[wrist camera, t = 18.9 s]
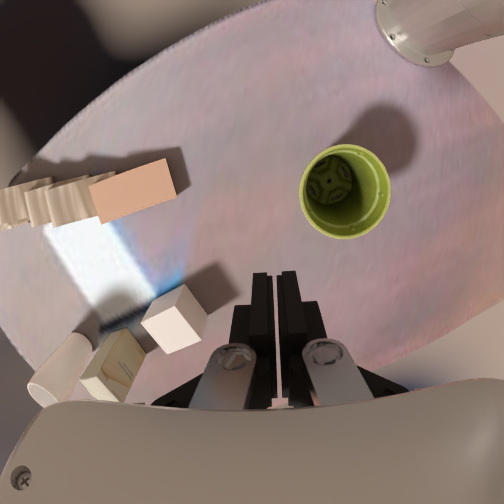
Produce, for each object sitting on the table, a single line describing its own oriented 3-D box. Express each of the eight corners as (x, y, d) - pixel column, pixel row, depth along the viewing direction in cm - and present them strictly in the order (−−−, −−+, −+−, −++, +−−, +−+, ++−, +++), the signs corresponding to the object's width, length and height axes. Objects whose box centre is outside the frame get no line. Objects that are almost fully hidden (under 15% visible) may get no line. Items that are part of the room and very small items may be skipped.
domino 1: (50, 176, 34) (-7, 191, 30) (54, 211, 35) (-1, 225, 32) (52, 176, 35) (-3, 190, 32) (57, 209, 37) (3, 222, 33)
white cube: (153, 299, 43) (140, 322, 37) (184, 283, 41) (174, 305, 36) (176, 329, 44) (167, 354, 39) (208, 315, 43) (201, 340, 38)
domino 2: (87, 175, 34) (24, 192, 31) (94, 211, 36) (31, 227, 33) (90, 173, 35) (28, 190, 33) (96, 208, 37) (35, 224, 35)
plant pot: (275, 167, 35) (280, 177, 27) (339, 128, 33) (363, 127, 25) (315, 229, 38) (329, 256, 30) (375, 192, 36) (405, 208, 28)
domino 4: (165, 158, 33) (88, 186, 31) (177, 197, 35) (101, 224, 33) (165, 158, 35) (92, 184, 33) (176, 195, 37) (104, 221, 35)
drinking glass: (99, 360, 48) (66, 418, 34) (70, 351, 48) (34, 404, 34) (93, 332, 45) (54, 391, 31) (63, 324, 45) (20, 377, 31)
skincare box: (147, 354, 47) (124, 406, 35) (128, 359, 47) (104, 409, 36) (126, 325, 44) (96, 376, 33) (107, 332, 45) (77, 380, 34)
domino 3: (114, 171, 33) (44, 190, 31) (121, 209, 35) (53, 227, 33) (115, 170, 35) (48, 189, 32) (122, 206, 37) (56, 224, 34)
